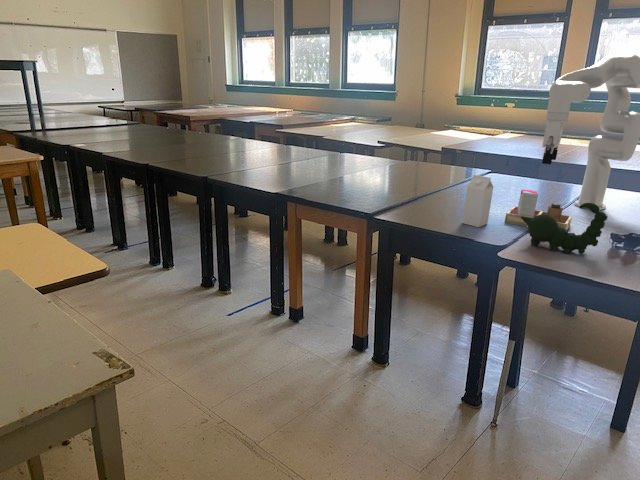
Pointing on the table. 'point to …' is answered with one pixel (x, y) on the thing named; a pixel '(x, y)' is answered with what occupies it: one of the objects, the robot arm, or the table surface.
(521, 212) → the supplement box
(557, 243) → the toy figurine
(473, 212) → the milk carton
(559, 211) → the box
